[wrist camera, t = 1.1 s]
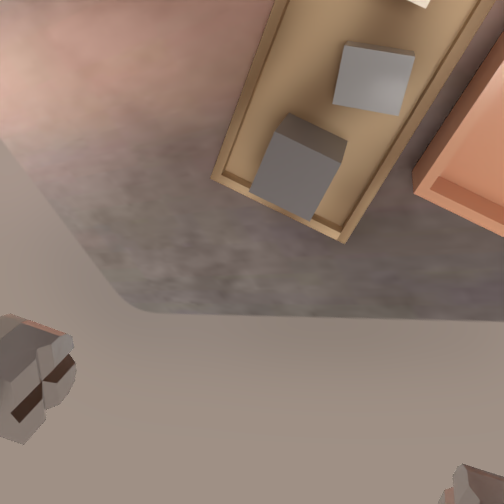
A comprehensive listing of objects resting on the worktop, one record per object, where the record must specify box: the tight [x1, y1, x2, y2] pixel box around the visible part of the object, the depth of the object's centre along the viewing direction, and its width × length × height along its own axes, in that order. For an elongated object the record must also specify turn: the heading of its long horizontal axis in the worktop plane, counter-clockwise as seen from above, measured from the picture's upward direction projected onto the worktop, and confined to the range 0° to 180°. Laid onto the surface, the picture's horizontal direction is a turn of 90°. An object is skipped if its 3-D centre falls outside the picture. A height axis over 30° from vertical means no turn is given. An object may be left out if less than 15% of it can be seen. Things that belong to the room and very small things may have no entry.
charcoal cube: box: [249, 113, 348, 222], centre depth 28 cm, size 4×4×4 cm
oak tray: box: [210, 0, 496, 244], centre depth 26 cm, size 10×20×1 cm, turn 158°
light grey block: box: [332, 41, 415, 116], centre depth 25 cm, size 4×3×2 cm
